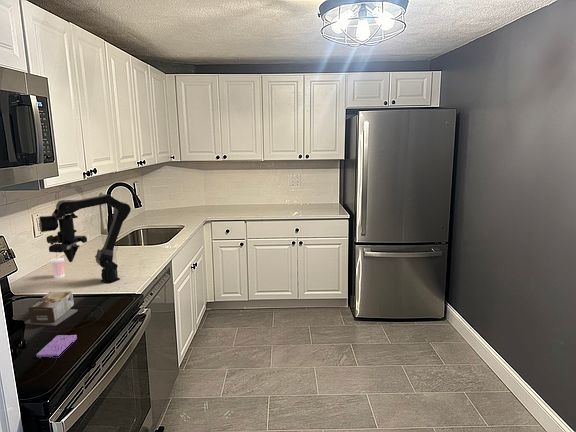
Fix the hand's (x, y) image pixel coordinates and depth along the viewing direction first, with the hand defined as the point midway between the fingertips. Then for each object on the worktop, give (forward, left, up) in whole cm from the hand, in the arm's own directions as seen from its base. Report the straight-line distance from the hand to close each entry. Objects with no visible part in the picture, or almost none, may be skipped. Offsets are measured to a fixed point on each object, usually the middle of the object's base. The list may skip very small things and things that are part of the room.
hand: (70, 261), depth 189 cm
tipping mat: (+23, +20, -13) cm, 33 cm away
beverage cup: (-7, -22, -13) cm, 27 cm away
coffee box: (+14, +14, -9) cm, 22 cm away
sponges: (+36, +44, -14) cm, 59 cm away
